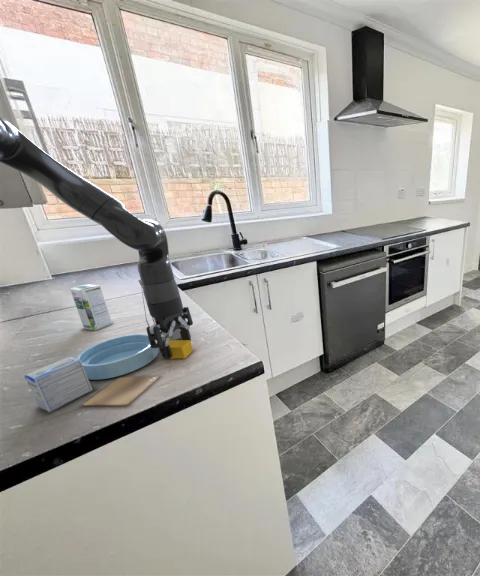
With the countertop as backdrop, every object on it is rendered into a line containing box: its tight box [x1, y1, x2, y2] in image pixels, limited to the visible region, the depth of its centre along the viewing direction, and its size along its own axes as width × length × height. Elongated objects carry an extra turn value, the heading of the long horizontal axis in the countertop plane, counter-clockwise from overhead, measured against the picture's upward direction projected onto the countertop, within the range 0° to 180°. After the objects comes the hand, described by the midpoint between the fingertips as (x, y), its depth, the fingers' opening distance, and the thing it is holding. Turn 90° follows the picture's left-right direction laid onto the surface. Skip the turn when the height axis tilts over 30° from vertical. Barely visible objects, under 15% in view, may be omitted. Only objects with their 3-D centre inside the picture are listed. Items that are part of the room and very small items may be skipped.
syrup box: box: [69, 283, 113, 332], centre depth 104 cm, size 6×6×14 cm
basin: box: [75, 333, 159, 381], centre depth 84 cm, size 16×16×5 cm
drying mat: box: [82, 376, 160, 407], centre depth 73 cm, size 10×10×1 cm
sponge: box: [163, 339, 194, 360], centre depth 87 cm, size 6×4×4 cm, turn 90°
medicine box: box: [24, 356, 93, 413], centre depth 69 cm, size 8×4×9 cm, turn 159°
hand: (177, 349), depth 88 cm, fingers open, 8 cm apart
